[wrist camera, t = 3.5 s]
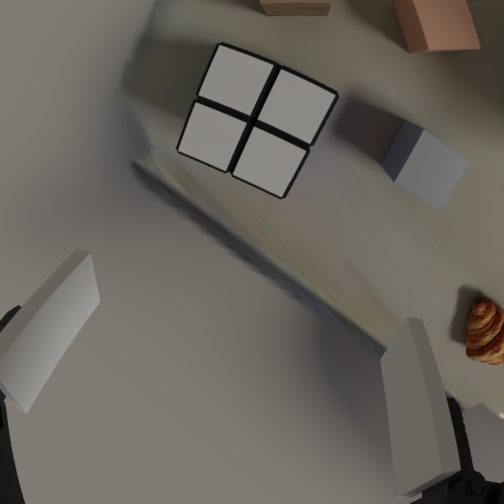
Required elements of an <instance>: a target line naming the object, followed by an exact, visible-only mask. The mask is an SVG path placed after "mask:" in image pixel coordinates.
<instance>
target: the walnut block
mask: <svg viewBox="0 0 504 504" xmlns="http://www.w3.org/2000/svg"><path fill="white" fill-rule="evenodd" d="M260 5H261V6H262V8H263V9H264V11H265V12H266V14H267V16H299V15H301V16H327V14H328V12H329V9H330V6H331V0H260Z"/></svg>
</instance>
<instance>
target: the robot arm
mask: <svg viewBox="0 0 504 504" xmlns="http://www.w3.org/2000/svg"><path fill="white" fill-rule="evenodd" d="M99 302H100V299H99V294H98V289H97V285H96V279H95V275H94V269H93V263H92V258H91V253H90V252H86V251H82V250H79V249H76V250H75V251H74V252H73V253H72V254H71V255H70V256H69V257H68V258H67V259H66V260H65V261H64V262H63V263H62V264H61V265H60V267H58V268H57V269H56V271H55V272H54V273H53V274H52V275H51V276H50V277H49V278H48V279H47V280H46V281H45V282H44V283H43V284H42V285H41V287H39V288H38V290H37V291H36V292H35V293H34V294H33V295H32V296H31V297H30V298H29V300H28V301H27V302H26V303H25V304H24V305H23V306H22V307H21V306H19V305H18V306H16V307H15V308H13V309H12V310H10V311H8V312H7V313H6V315H5V316H4V317H3V318H2V319H1V320H0V504H25V502H24V498H23V495H22V492H21V488H20V484H19V480H18V476H17V471H16V467H15V462H14V458H13V453H12V447H11V441H10V435H9V428H8V421H7V412H6V406H5V402H4V399H5V398H6V397H7V398H8V400H9V401H10V402H11V403H12V405H14V406H15V407H17V408H18V409H20V410H21V411H23V412H25V413H27V412H28V410H29V409H30V407H31V405H32V404H33V402H34V400H35V398H36V397H37V395H38V394H39V392H40V390H41V389H42V387H43V385H44V384H45V382H46V381H47V379H48V377H49V376H50V374H51V373H52V371H53V369H54V368H55V366H56V365H57V363H58V362H59V360H60V359H61V357H62V356H63V354H64V352H65V351H66V349H67V348H68V347H69V345H70V343H71V342H72V341H73V339H74V338H75V336H76V335H77V333H78V332H79V330H80V329H81V328H82V326H83V324H84V323H85V322H86V321H87V319H88V318H89V316H90V315H91V314H92V312H93V311H94V309H95V308H96V307H97V305H98V304H99ZM380 362H381V368H382V374H383V381H384V388H385V395H386V403H387V411H388V419H389V428H390V437H391V448H392V461H393V477H394V499H398V498H407V497H413V496H415V495H417V494H419V493H421V492H422V498H420V499H418V500H416V501H414V502H412V503H410V504H504V482H502V483H496V482H490V481H485V478H484V477H483V475H482V474H481V473H479V472H477V471H475V470H474V468H473V464H472V458H471V453H470V448H469V443H468V438H467V433H465V431H466V429H465V425H464V423H463V417H462V412H461V409H460V407H459V405H458V404H457V402H456V401H455V399H454V398H446V395H445V391H444V388H443V384H442V380H441V377H440V373H439V370H438V366H437V363H436V360H435V356H434V353H433V350H432V347H431V344H430V341H429V338H428V335H427V332H426V329H425V326H424V323H423V320H422V319H417V318H410V317H407V318H406V319H405V321H404V323H403V324H402V326H401V328H400V329H399V331H398V333H397V334H396V336H395V338H394V339H393V341H392V343H391V344H390V346H389V347H388V349H387V350H386V352H385V354H384V355H383V357H382V358H381V360H380Z"/></svg>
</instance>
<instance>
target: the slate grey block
mask: <svg viewBox="0 0 504 504" xmlns="http://www.w3.org/2000/svg"><path fill="white" fill-rule="evenodd" d="M468 163H469V162H468V161H467V160H466V159H464V158H463V157H462V156H460V155H459V154H458V153H457V152H455V151H454V150H453V149H451V148H450V147H449V146H447V145H446V144H445V143H443V142H442V141H440V140H439V139H438V138H436V137H435V136H433V135H432V134H431V133H429V132H428V131H426V130H425V129H423V128H421V127H419V126H417V125H415V124H413V123H411V122H409V121H407V120H405V122H404V123H403V125H402V127H401V129H400V131H399V133H398V135H397V137H396V138H395V140H394V142H393V144H392V146H391V148H390V149H389V151H388V153H387V155H386V157H385V158H384V160H383V162H382V164H381V166H382V167H383V169H384V170H385V171H386V172H387V174H388V175H389V176H390V178H391V179H392V180H393V182H394V183H396V184H397V185H399V186H401V187H402V188H404V189H406V190H407V191H409V192H411V193H412V194H414V195H416V196H417V197H419V198H420V199H422V200H424V201H425V202H427V203H428V204H430V205H431V206H433V207H434V208H436V209H437V210H439V211H440V210H441V208H442V206H443V205H444V203H445V202H446V200H447V199H448V197H449V195H450V194H451V192H452V191H453V189H454V187H455V186H456V184H457V182H458V181H459V179H460V177H461V176H462V174H463V172H464V170H465V169H466V167H467V165H468Z"/></svg>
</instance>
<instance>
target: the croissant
mask: <svg viewBox="0 0 504 504" xmlns="http://www.w3.org/2000/svg"><path fill="white" fill-rule="evenodd" d="M466 341H467V344H466V346H467V348H466V355H467V356H468V358H470V359H472V360H474V361H480V362H483V363H489V364H491V365H500V364H501V363H503V362H504V311H503V310H502V309H501V308H500V307H499V306H497V305H495V304H494V303H493V302H492V301H491V300H487V299H478V300H477V301H476V302H474V304H473V306H472V312H471V313H470V314H469V317H468V321H467V331H466Z"/></svg>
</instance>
